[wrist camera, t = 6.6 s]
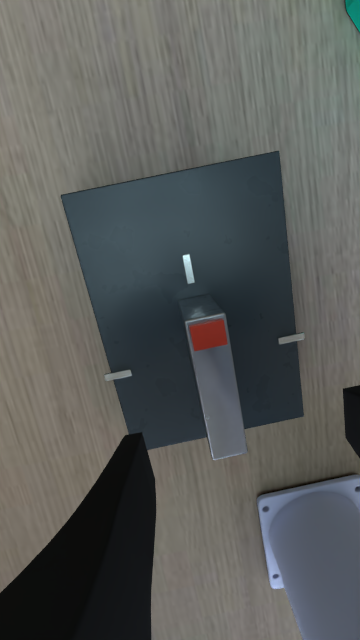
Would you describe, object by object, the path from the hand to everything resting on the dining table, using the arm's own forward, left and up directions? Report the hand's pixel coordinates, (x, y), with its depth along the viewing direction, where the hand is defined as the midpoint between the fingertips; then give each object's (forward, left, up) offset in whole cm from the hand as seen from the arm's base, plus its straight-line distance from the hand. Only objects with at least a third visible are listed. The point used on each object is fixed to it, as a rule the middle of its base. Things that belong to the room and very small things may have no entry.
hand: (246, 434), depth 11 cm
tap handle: (+1, +1, -6) cm, 6 cm away
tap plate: (+3, +1, -9) cm, 9 cm away
